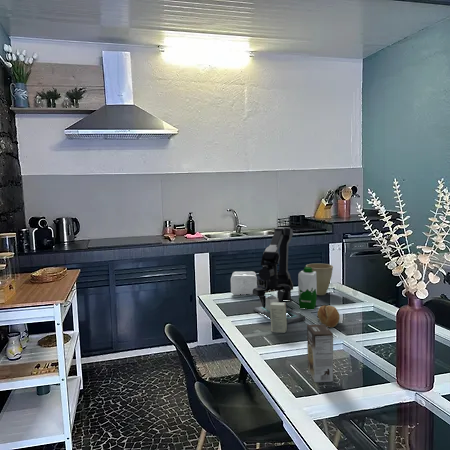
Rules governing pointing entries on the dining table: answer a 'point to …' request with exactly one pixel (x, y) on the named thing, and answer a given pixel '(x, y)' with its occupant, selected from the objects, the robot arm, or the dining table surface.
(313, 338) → the coffee box
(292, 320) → the socket panel
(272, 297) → the plug
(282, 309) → the skincare box
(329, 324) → the bread roll
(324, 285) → the plant pot
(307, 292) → the milk carton
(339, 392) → the dining table surface
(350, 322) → the dining table surface
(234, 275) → the white rounded box
